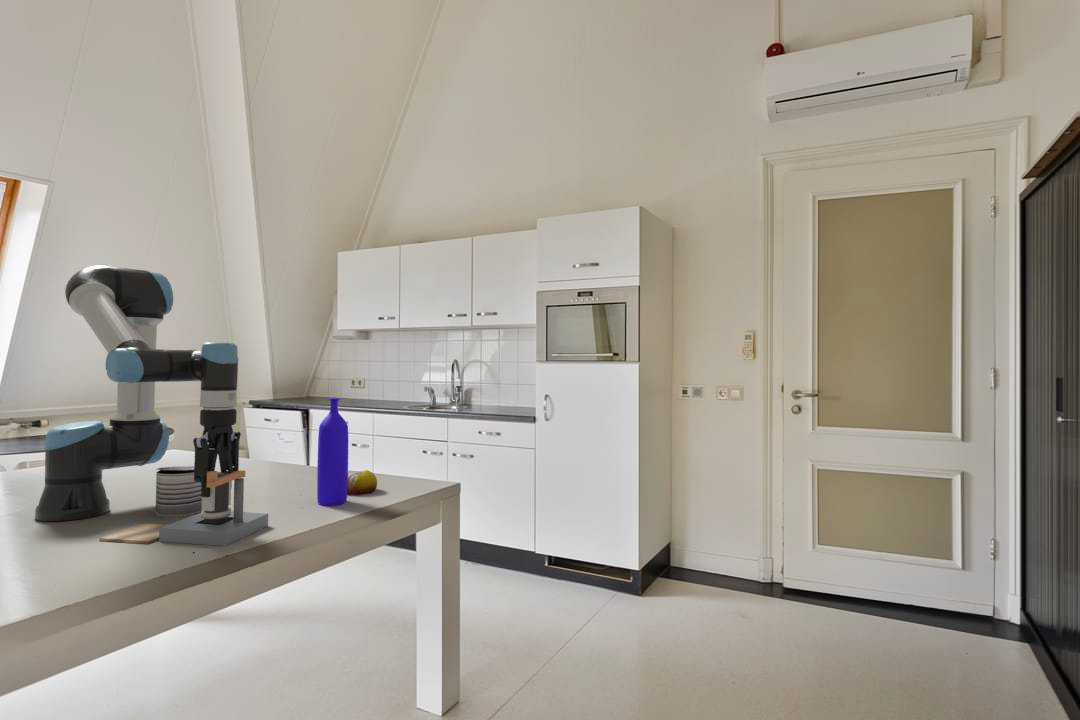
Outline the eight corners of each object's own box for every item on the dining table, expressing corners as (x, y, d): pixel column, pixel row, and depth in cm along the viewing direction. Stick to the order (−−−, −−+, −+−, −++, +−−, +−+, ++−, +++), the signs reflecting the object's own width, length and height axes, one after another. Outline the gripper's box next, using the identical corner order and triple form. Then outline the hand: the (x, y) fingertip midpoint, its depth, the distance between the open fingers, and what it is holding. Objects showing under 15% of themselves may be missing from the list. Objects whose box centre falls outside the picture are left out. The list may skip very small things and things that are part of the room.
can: (144, 514, 154) (145, 468, 154) (184, 504, 165) (185, 461, 165) (176, 518, 150) (177, 471, 150) (215, 508, 161) (216, 464, 161)
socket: (159, 541, 132) (160, 483, 132) (208, 522, 148) (209, 470, 148) (225, 545, 130) (226, 486, 130) (268, 525, 146) (269, 472, 146)
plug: (194, 532, 136) (195, 476, 136) (212, 525, 143) (214, 471, 143) (219, 534, 136) (220, 477, 136) (236, 526, 142) (237, 472, 142)
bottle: (337, 507, 165) (339, 399, 165) (310, 505, 167) (312, 398, 167) (352, 500, 173) (354, 397, 173) (327, 498, 175) (329, 396, 175)
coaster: (99, 540, 132) (99, 537, 132) (142, 525, 144) (142, 523, 144) (148, 543, 130) (148, 541, 130) (187, 528, 142) (187, 526, 142)
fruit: (360, 485, 193) (366, 462, 192) (380, 499, 187) (386, 475, 186) (331, 490, 184) (336, 466, 182) (351, 505, 178) (357, 480, 177)
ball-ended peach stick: (215, 487, 126) (215, 472, 126) (203, 487, 126) (203, 472, 126) (247, 475, 140) (247, 462, 140) (236, 475, 140) (236, 461, 140)
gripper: (206, 412, 130) (204, 518, 130) (256, 405, 147) (254, 499, 148) (175, 410, 131) (173, 516, 131) (228, 404, 148) (226, 497, 149)
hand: (216, 507), depth 139 cm, fingers closed on plug, 5 cm apart
